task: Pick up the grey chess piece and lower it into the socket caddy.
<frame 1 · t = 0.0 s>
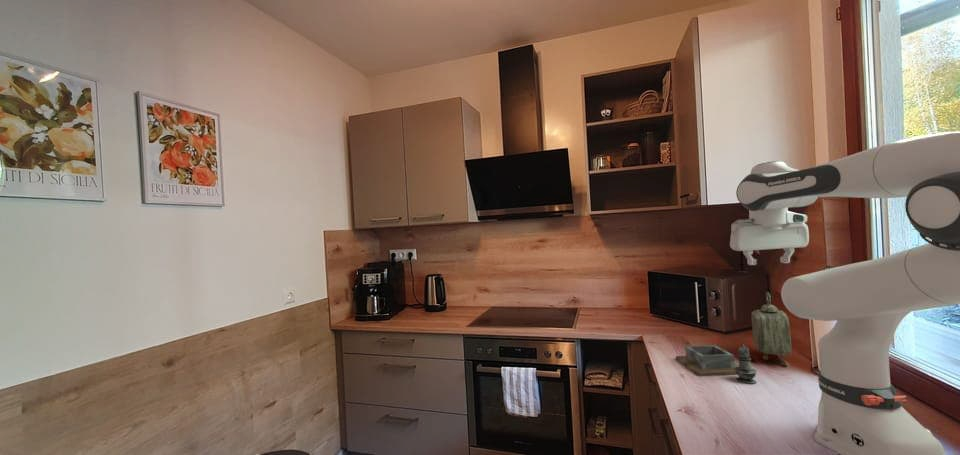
hand: (768, 263, 104), 39 cm above the countertop, tool pointing down, fingers open, 8 cm apart
green tall textured piece: (772, 360, 128), on the countertop
grey chess piece: (746, 381, 113), on the countertop
socket caddy: (709, 366, 127), on the countertop
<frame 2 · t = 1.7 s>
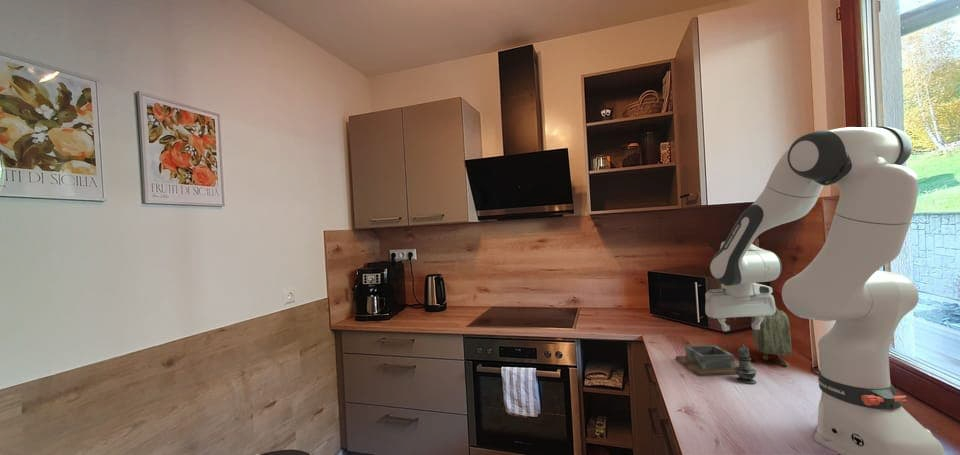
hand: (740, 329, 114), 16 cm above the countertop, tool pointing down, fingers open, 8 cm apart
nothing on the countertop moved.
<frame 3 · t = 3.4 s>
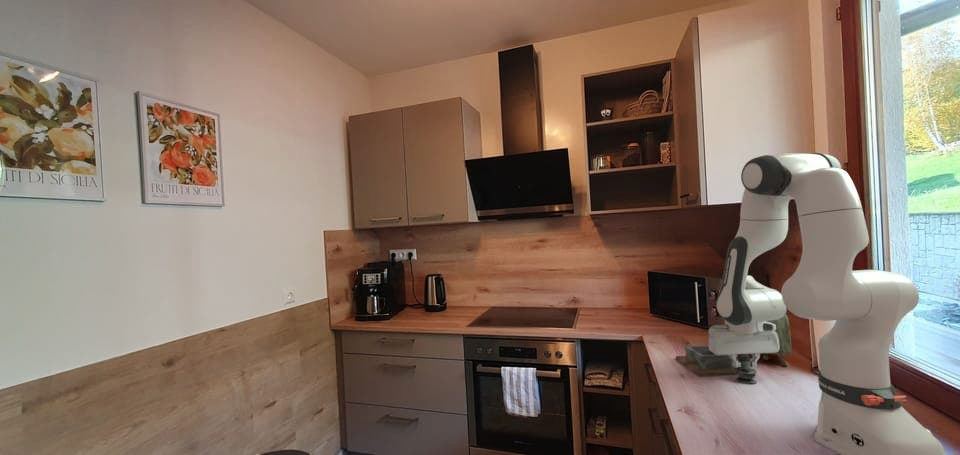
hand: (744, 366, 113), 5 cm above the countertop, tool pointing down, fingers closed on grey chess piece, 3 cm apart
grey chess piece: (746, 381, 113), on the countertop, touching gripper
everything else where it was.
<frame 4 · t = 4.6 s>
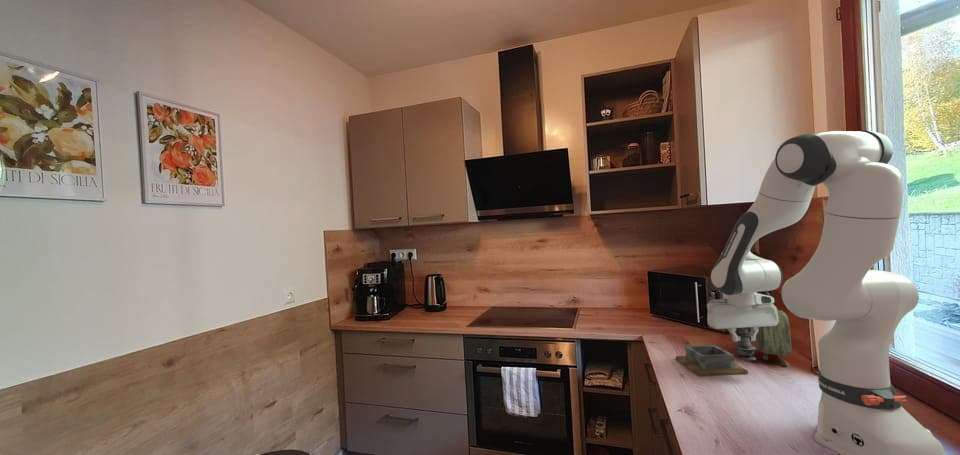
hand: (744, 340, 113), 13 cm above the countertop, tool pointing down, fingers closed on grey chess piece, 3 cm apart
grey chess piece: (745, 358, 113), point 7 cm above the countertop, touching gripper
everything else where it was.
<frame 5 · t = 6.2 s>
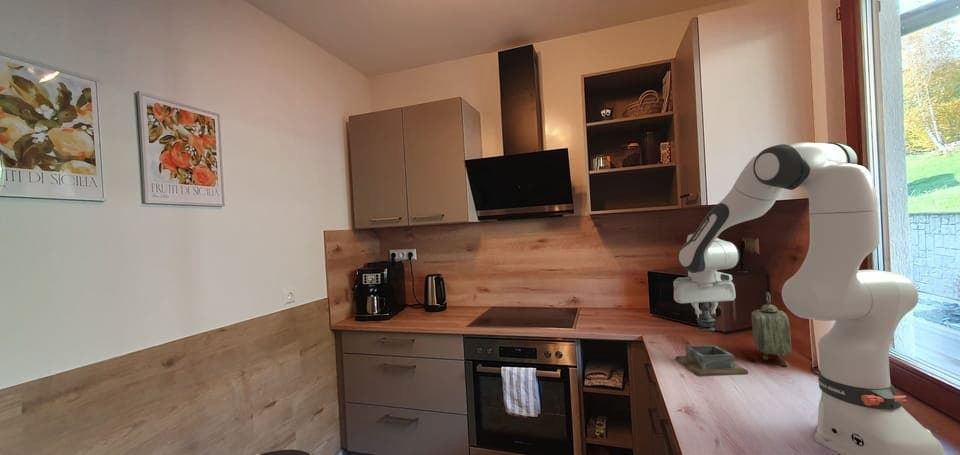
hand: (705, 314, 127), 19 cm above the countertop, tool pointing down, fingers closed on grey chess piece, 3 cm apart
grey chess piece: (706, 329, 127), point 13 cm above the countertop, touching gripper
everything else where it was.
when the fingers open (7 cm above the countertop, at t = 8.2 s): grey chess piece stays where it is, resting on socket caddy.
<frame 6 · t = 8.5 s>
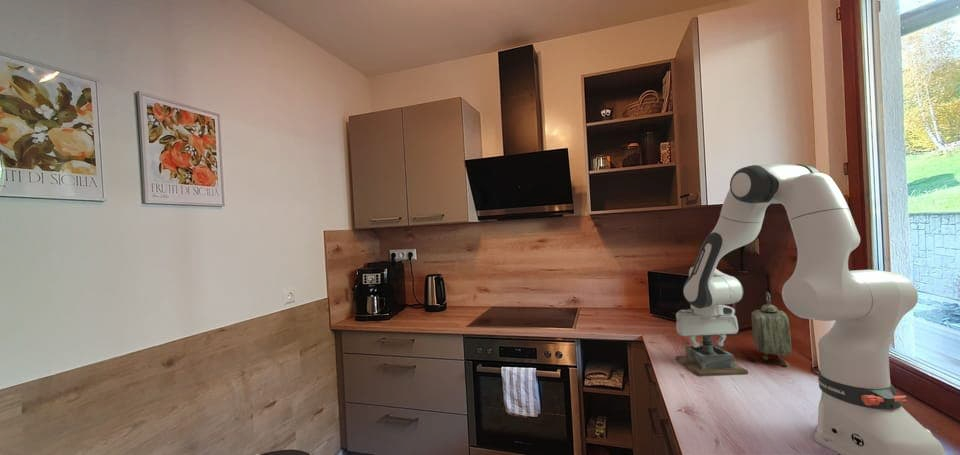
hand: (708, 346, 127), 7 cm above the countertop, tool pointing down, fingers open, 7 cm apart
grey chess piece: (708, 363, 126), point 1 cm above the countertop, touching socket caddy
everything else where it was.
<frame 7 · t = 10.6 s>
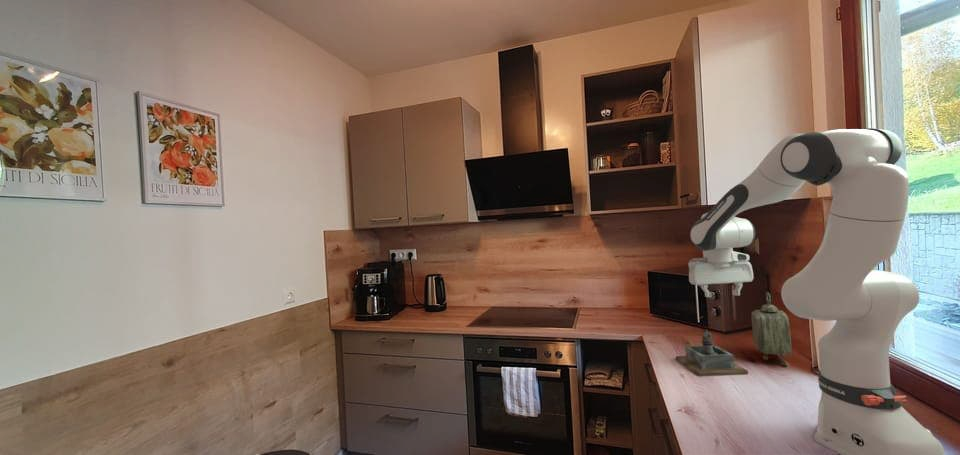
hand: (722, 296, 122), 26 cm above the countertop, tool pointing down, fingers open, 8 cm apart
nothing on the countertop moved.
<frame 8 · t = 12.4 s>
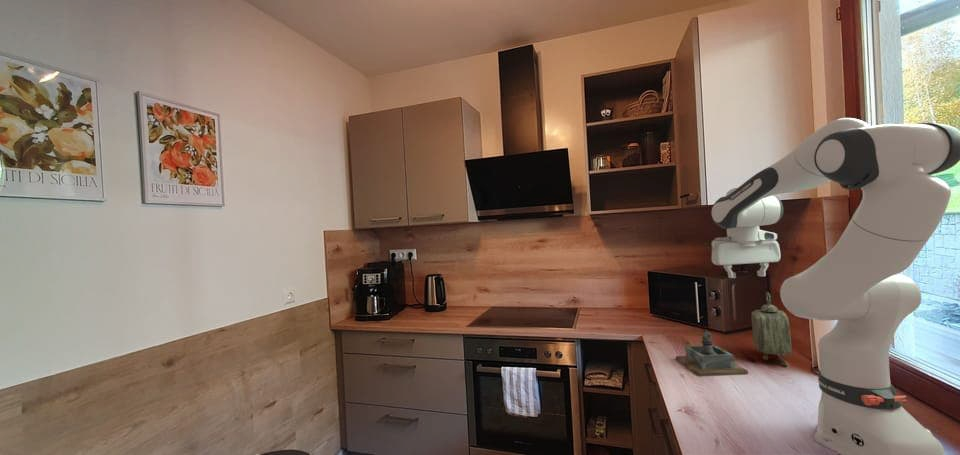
hand: (746, 277, 117), 33 cm above the countertop, tool pointing down, fingers open, 8 cm apart
nothing on the countertop moved.
at the end: grey chess piece 0.2 cm off-centre on the socket caddy, point 1.0 cm above the socket caddy's base; grey chess piece tilted 0°; the gripper is holding nothing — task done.
